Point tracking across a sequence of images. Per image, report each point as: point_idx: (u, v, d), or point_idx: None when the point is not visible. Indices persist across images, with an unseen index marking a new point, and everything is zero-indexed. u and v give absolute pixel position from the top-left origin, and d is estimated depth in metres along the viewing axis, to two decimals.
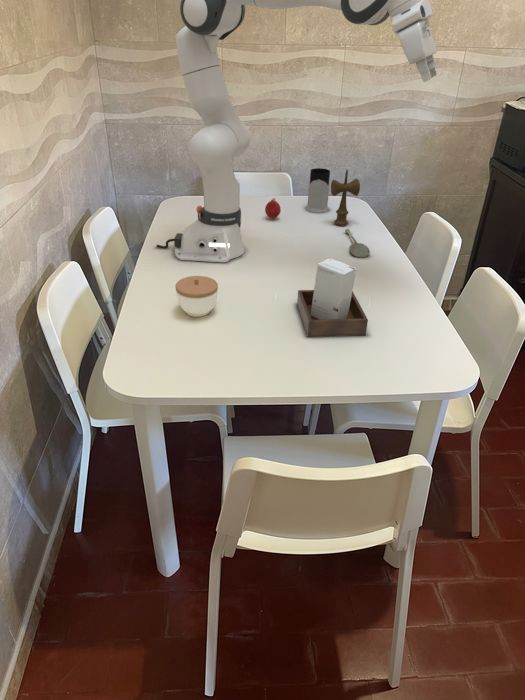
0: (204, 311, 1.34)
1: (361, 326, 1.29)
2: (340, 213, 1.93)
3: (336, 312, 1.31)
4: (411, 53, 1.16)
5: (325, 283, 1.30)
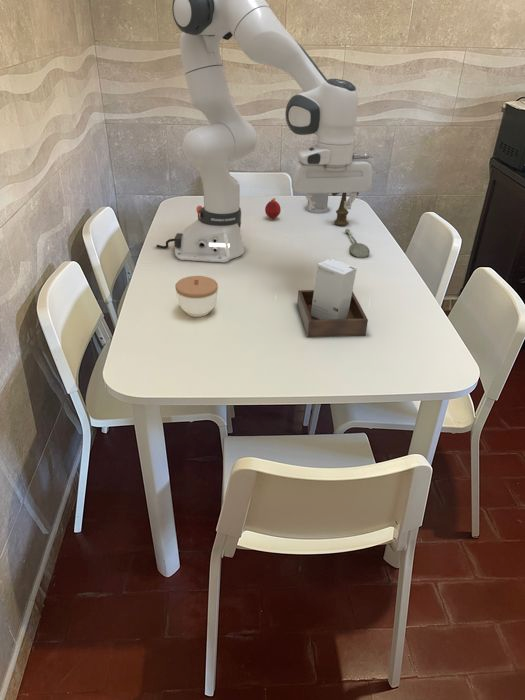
0: (204, 311, 1.34)
1: (361, 326, 1.29)
2: (340, 213, 1.93)
3: (336, 312, 1.31)
4: (292, 183, 1.33)
5: (325, 283, 1.30)
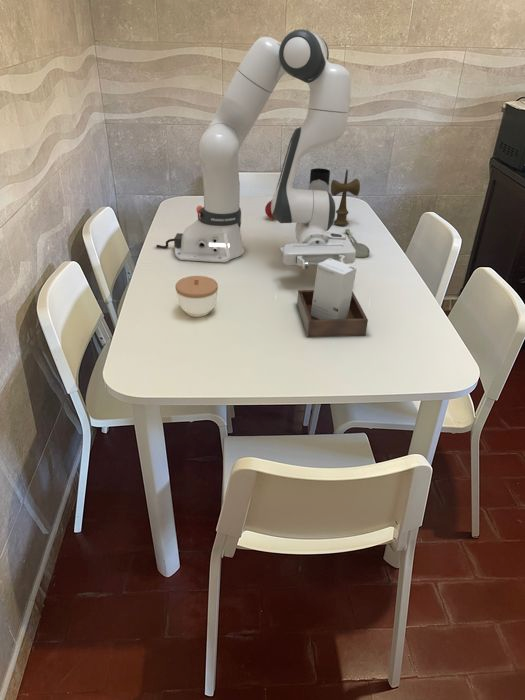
0: (204, 311, 1.34)
1: (361, 326, 1.29)
2: (340, 213, 1.93)
3: (336, 312, 1.31)
4: None
5: (325, 283, 1.30)
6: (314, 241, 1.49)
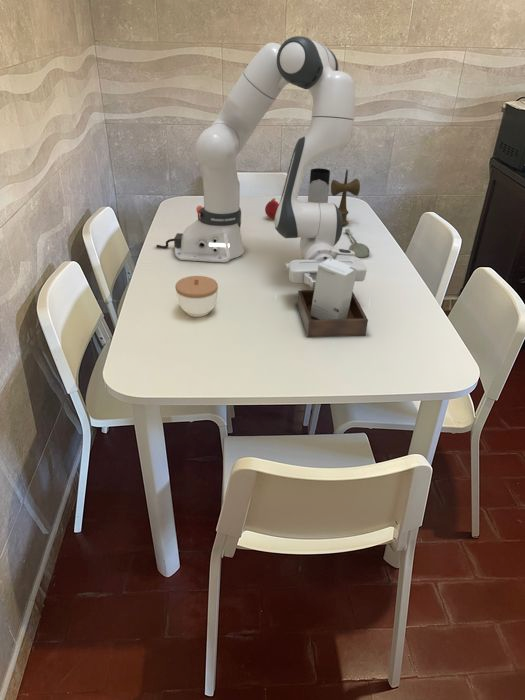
0: (204, 311, 1.34)
1: (361, 326, 1.29)
2: None
3: (337, 313, 1.31)
4: None
5: (326, 284, 1.29)
6: (322, 257, 1.40)
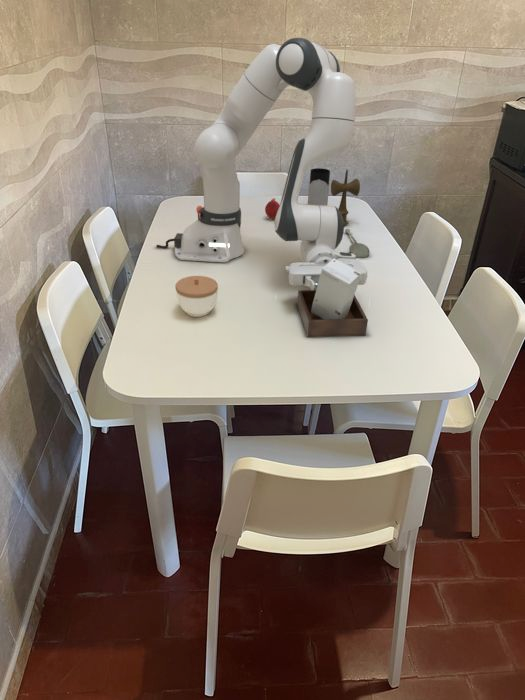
0: (204, 311, 1.34)
1: (361, 326, 1.29)
2: None
3: (338, 315, 1.30)
4: None
5: (328, 287, 1.27)
6: (322, 260, 1.38)
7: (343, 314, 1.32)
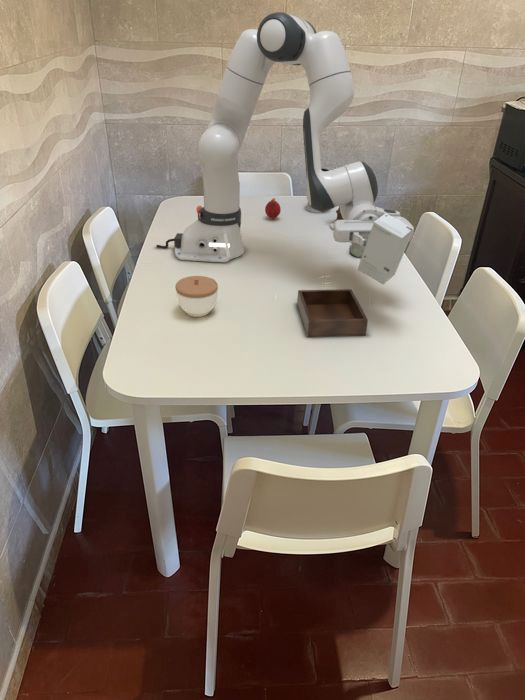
0: (204, 311, 1.34)
1: (361, 326, 1.29)
2: (340, 213, 1.93)
3: (387, 272, 1.28)
4: None
5: (379, 242, 1.25)
6: (367, 217, 1.36)
7: (391, 272, 1.30)
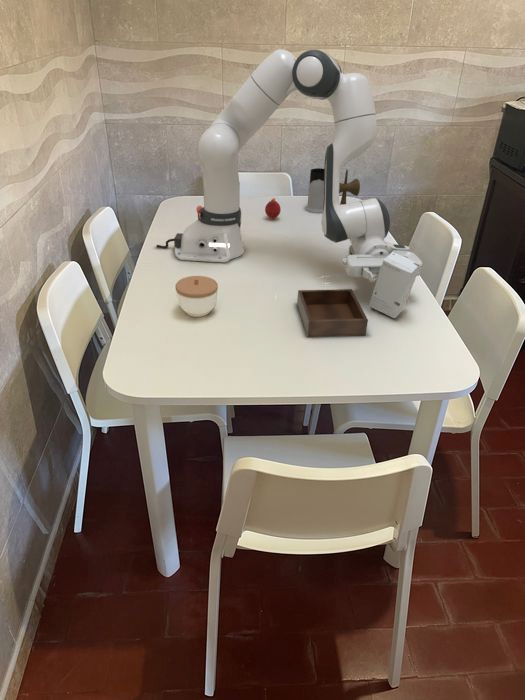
0: (204, 311, 1.34)
1: (361, 326, 1.29)
2: None
3: (398, 306, 1.35)
4: None
5: (389, 279, 1.33)
6: (378, 252, 1.43)
7: (401, 306, 1.37)
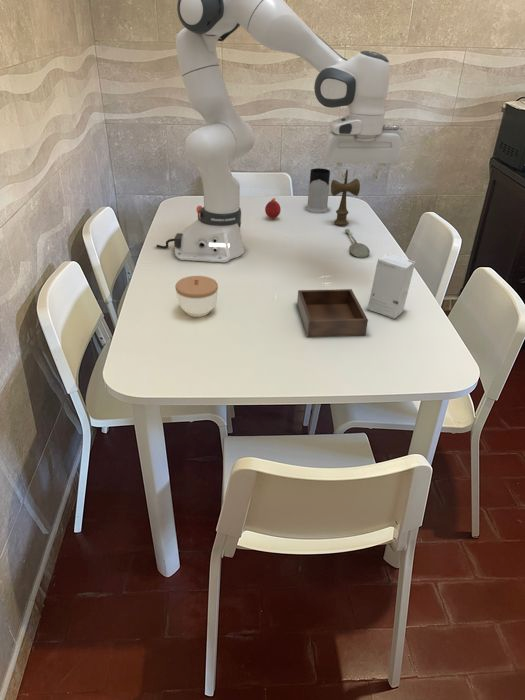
0: (204, 311, 1.34)
1: (361, 326, 1.29)
2: (340, 213, 1.93)
3: (396, 305, 1.36)
4: (323, 153, 1.38)
5: (385, 277, 1.35)
6: None
7: (400, 305, 1.38)
